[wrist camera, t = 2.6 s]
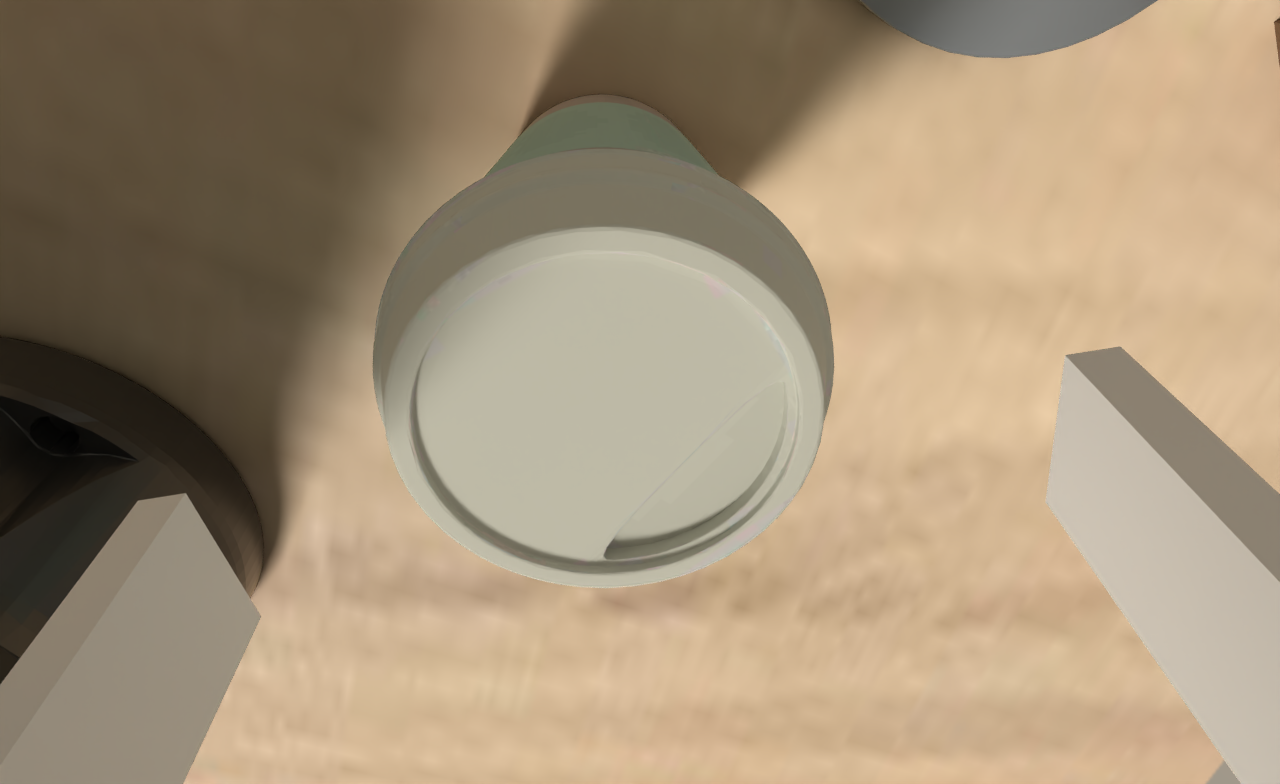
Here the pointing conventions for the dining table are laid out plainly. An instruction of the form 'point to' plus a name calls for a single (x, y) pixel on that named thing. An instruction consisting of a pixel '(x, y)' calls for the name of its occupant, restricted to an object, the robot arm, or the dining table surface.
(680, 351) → the coffee cup
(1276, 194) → the dining table surface
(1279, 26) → the walnut block
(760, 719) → the dining table surface
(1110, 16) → the saucer
